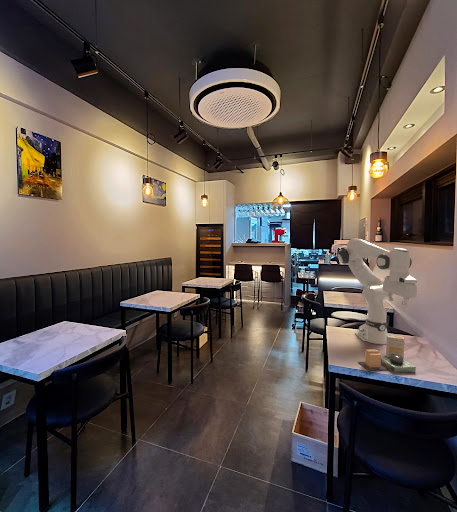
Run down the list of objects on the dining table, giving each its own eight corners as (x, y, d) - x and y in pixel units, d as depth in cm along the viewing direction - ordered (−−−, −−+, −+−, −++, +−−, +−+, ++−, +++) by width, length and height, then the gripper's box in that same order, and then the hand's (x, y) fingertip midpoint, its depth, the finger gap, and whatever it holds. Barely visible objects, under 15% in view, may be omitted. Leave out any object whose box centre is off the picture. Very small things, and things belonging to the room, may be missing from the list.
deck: (377, 361, 141) (378, 351, 141) (397, 361, 142) (398, 351, 142) (393, 372, 129) (394, 361, 129) (415, 372, 130) (416, 361, 130)
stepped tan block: (364, 363, 138) (365, 349, 137) (375, 363, 138) (375, 349, 138) (370, 367, 133) (370, 353, 133) (380, 367, 134) (381, 352, 133)
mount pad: (358, 362, 140) (358, 361, 140) (376, 362, 141) (376, 361, 141) (368, 371, 131) (368, 369, 131) (388, 370, 132) (388, 369, 132)
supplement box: (401, 358, 147) (403, 336, 146) (403, 361, 143) (405, 339, 142) (385, 355, 150) (386, 333, 150) (386, 358, 146) (388, 336, 145)
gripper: (380, 275, 145) (378, 298, 146) (408, 280, 125) (406, 307, 126) (390, 275, 146) (388, 298, 147) (420, 280, 125) (418, 307, 126)
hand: (397, 302), depth 136 cm, fingers open, 8 cm apart
